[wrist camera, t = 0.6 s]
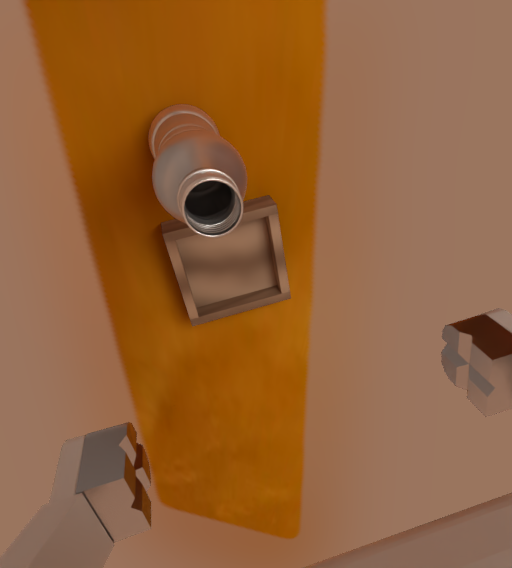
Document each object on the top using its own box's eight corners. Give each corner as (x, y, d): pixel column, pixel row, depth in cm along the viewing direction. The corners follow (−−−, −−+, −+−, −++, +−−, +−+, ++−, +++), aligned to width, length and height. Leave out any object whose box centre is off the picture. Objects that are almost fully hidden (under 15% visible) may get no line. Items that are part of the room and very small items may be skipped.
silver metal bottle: (181, 184, 43) (209, 280, 26) (132, 131, 40) (128, 203, 23) (229, 142, 42) (289, 214, 26) (183, 83, 39) (218, 124, 22)
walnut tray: (161, 222, 45) (162, 234, 42) (268, 195, 46) (276, 204, 44) (189, 311, 51) (192, 326, 49) (283, 285, 52) (290, 298, 50)
